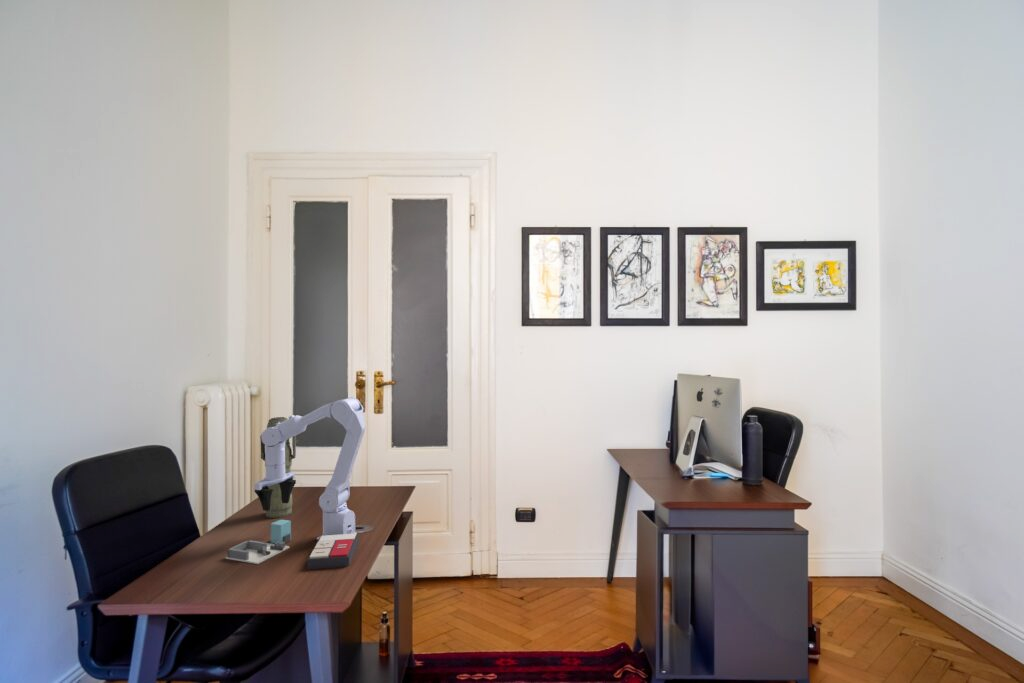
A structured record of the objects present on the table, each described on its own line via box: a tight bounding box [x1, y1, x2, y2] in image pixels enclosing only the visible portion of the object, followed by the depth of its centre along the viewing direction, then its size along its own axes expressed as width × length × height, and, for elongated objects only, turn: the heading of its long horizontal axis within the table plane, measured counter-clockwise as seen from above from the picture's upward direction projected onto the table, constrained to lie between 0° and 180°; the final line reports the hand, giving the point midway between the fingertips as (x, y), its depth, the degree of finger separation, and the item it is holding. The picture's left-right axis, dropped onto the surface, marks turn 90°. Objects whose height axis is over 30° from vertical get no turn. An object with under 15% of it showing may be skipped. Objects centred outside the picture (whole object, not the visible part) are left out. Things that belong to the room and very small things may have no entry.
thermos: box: [259, 416, 297, 519], centre depth 177 cm, size 9×12×35 cm
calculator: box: [306, 533, 359, 570], centre depth 140 cm, size 11×4×15 cm
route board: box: [225, 541, 291, 565], centre depth 143 cm, size 12×12×2 cm
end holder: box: [226, 539, 268, 560], centre depth 141 cm, size 7×7×3 cm
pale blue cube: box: [270, 519, 292, 544], centre depth 151 cm, size 5×4×6 cm
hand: (276, 506), depth 156 cm, fingers open, 7 cm apart
